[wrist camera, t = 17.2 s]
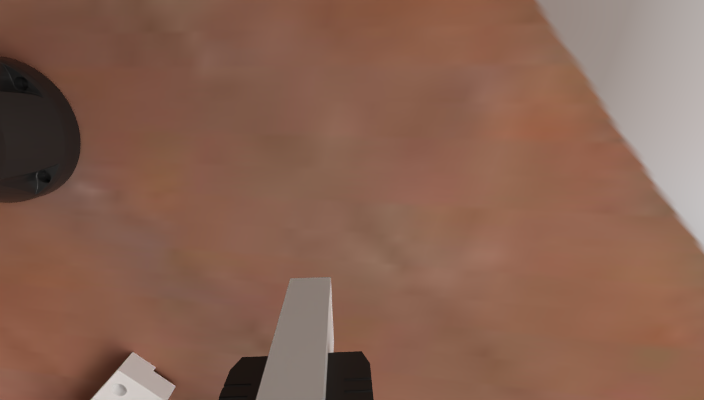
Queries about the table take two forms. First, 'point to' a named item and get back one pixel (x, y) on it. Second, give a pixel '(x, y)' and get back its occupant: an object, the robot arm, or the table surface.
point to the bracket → (135, 382)
